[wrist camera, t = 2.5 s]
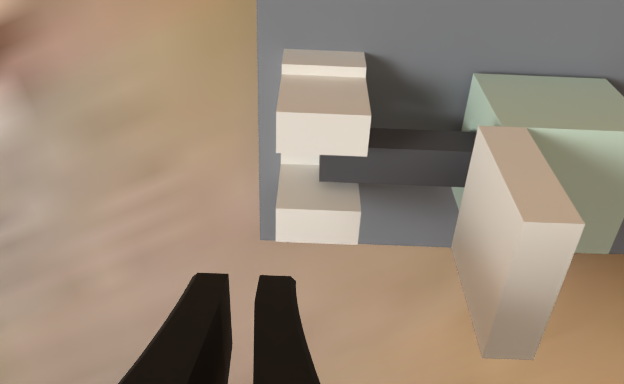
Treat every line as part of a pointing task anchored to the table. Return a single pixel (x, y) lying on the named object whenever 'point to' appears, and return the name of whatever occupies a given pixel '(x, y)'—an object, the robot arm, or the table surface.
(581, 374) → the table surface
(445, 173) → the dark grey bar
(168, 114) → the table surface
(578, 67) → the board
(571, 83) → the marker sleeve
